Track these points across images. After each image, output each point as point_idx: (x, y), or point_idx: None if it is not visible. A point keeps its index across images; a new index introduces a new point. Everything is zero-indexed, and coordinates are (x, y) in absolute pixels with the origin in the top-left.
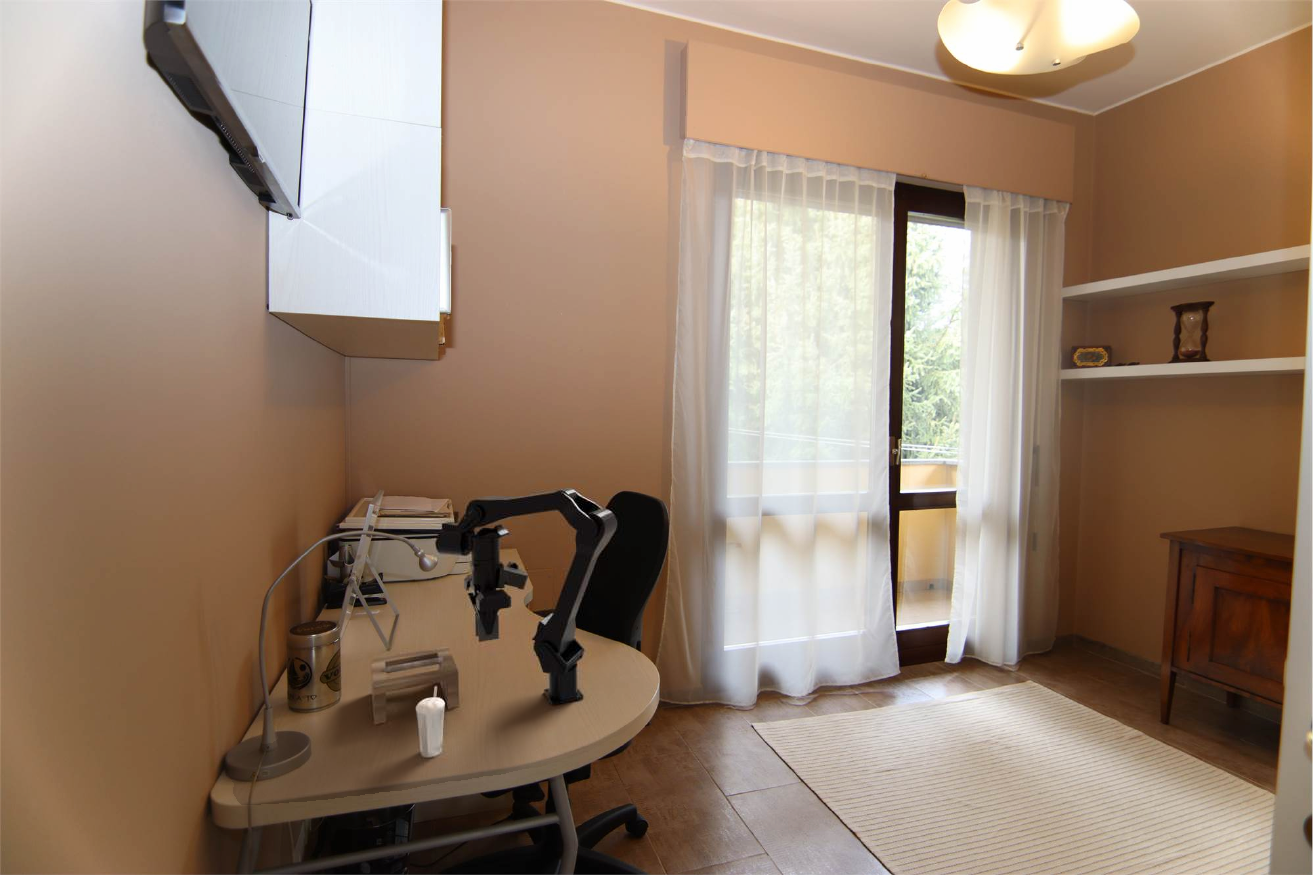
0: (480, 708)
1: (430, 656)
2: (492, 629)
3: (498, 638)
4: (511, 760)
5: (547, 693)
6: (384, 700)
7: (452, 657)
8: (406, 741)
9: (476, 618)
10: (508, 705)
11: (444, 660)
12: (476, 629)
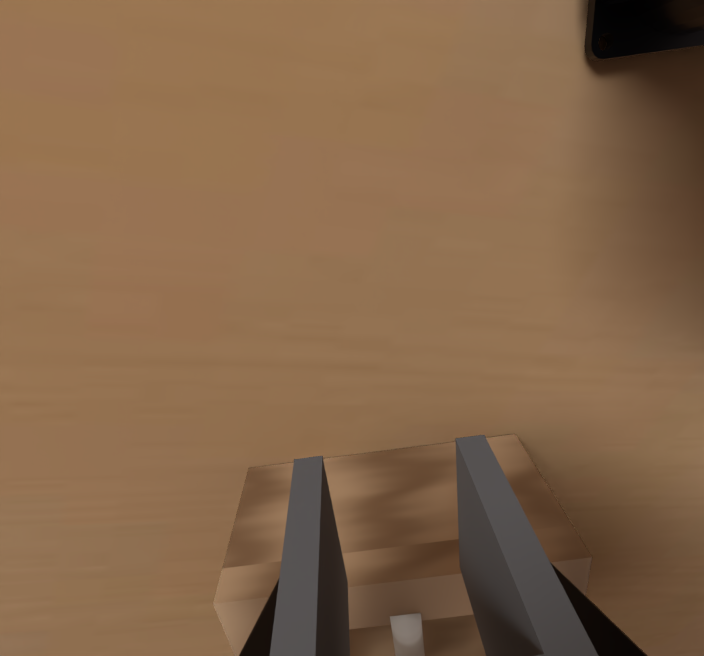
0: (571, 367)
1: None
2: (569, 586)
3: (485, 439)
4: None
5: (651, 42)
6: None
7: (391, 582)
8: (650, 547)
9: None
10: (611, 260)
11: (413, 608)
12: (347, 642)
